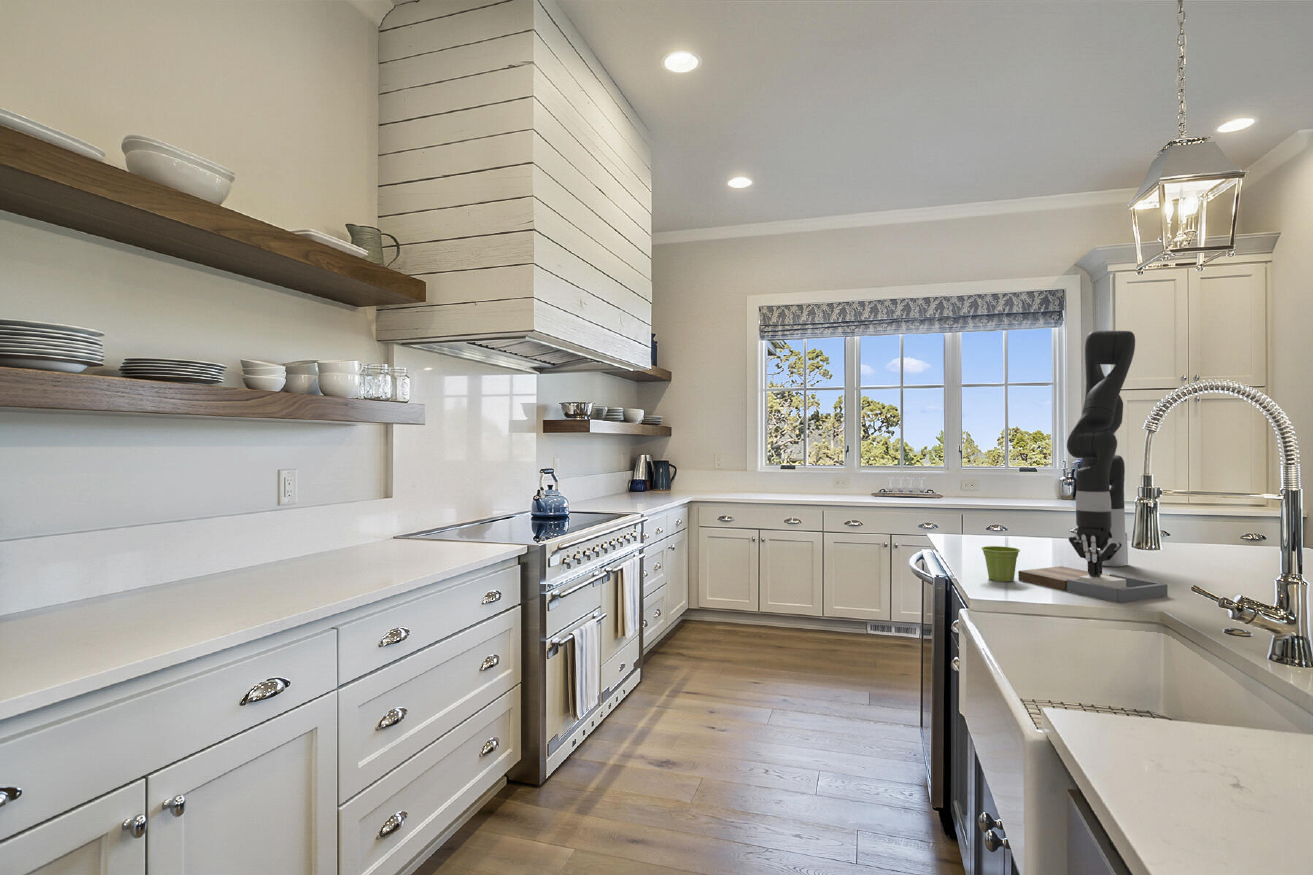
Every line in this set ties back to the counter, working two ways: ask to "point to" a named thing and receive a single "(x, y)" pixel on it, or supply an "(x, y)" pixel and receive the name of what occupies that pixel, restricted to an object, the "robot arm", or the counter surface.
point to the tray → (1120, 590)
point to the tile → (1105, 581)
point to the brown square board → (1052, 576)
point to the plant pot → (1001, 562)
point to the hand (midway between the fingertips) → (1095, 576)
